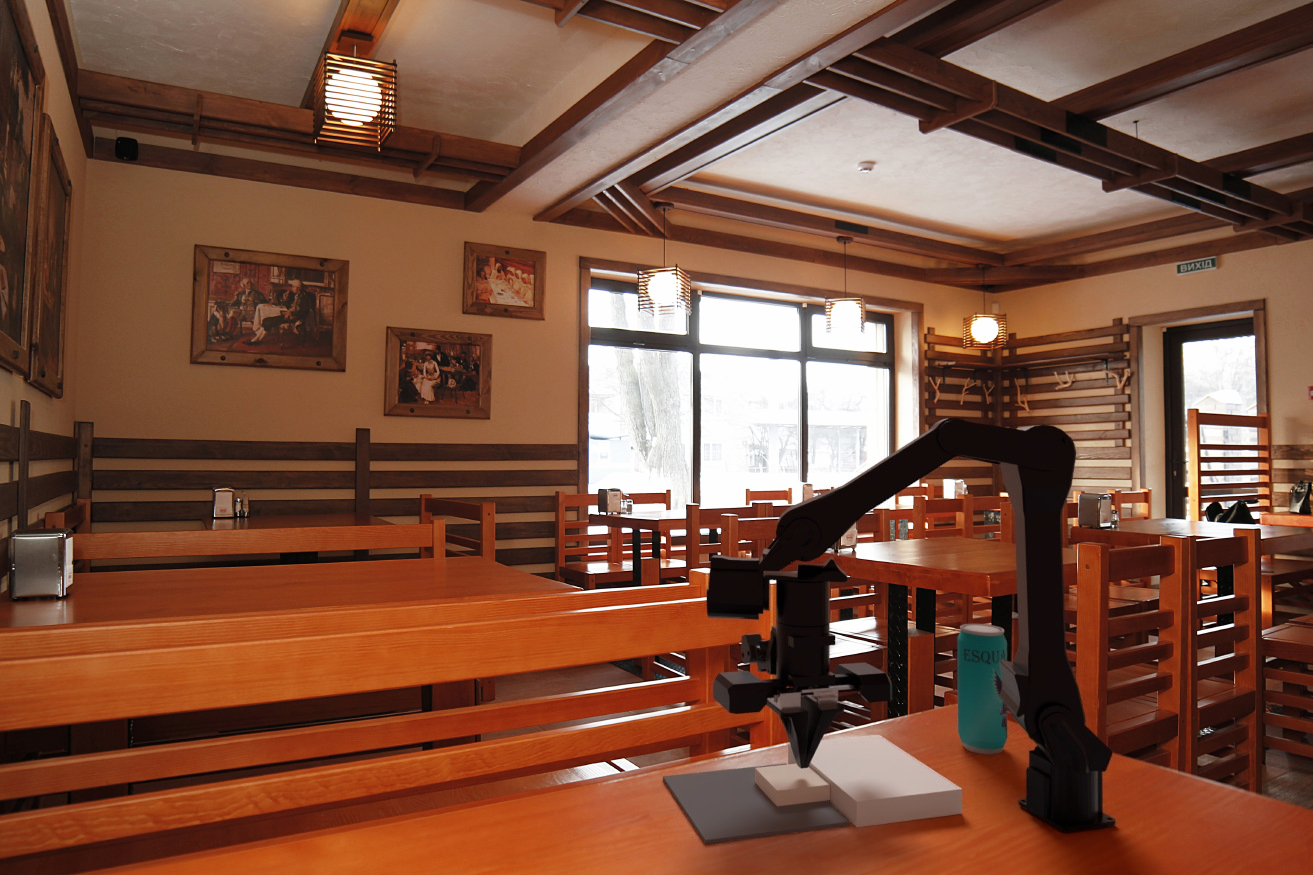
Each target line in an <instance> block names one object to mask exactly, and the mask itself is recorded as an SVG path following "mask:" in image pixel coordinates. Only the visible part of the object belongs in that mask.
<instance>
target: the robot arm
mask: <svg viewBox="0 0 1313 875" xmlns="http://www.w3.org/2000/svg"><path fill="white" fill-rule="evenodd" d="M955 457H960V458H963V459H967V460H973V461H978V462H981V463H987V464H992V465H993V464H994V465H996V466H999V467H1000V472H1001V475H1002V480H1003V485H1004V487H1005V490H1006V493H1007V496H1008V498H1009V501H1010V503H1011V506H1012V510H1013V513H1014V534H1015V558H1016V559H1015V560H1016V561H1015V562H1016V563H1015V565H1016V566H1015V567H1016V592H1017V620H1018V621H1017V622H1018V625H1017V626H1018V628H1017V629H1018V646H1017V649H1016V650H1017V651H1016V653H1015V656H1014V658H1013V661H1009V660H1007V661H1004V660H1000V670H1001V674H1002V681H1003V683H1002V689H1001V692H1000V694H999V696H1000V698H1001V699H1002V700H1003V701H1004V702H1005V703H1006V704H1007V711H1008V712H1009V713H1010V714H1011V716H1012V717H1013V718H1014V720H1015V721H1016V722H1017V723H1018V724H1019V726H1021V727H1022V730H1024V732H1025V733H1026V734H1027V736H1028V738H1029V739H1030V740H1031V741H1033V742H1034V743H1035V744H1036V746H1035V747H1034V749H1032V750H1029V751H1028V766H1027V767H1026V768H1025V776H1026V777H1025V778H1026V779H1025V782H1026V784H1025V785H1026V787H1025V788H1026V789H1025V790H1026V792H1025V793H1026V794H1025V795H1026V797H1025V798H1020V799H1018V800H1017V802H1018V804H1017V805H1019V806H1020V807H1022V808H1023V809H1025V810H1026V811H1028V812H1030V813H1031V814H1032V815H1034V816H1036V817H1038V818H1039V819H1041V820H1042V821H1044V822H1046V823H1047V824H1049V825H1051V827H1054V828H1056V829H1058V830H1059V831H1061V832H1063V833H1065V832H1066V833H1069V832H1076V831H1083V830H1091V829H1098V828H1103V827H1112V826H1116V824H1117V821H1116V818H1114V817H1113V816H1111V815H1109V814H1107V813H1105V812H1104V811H1103V810H1104V806H1103V804H1104V802H1103V801H1104V800H1103V799H1104V798H1103V796H1104V795H1103V794H1104V792H1103V789H1104V788H1103V779H1104V778H1103V773H1105V772H1106V771H1107V770H1108V767H1109V764H1110V762H1111V760H1112V757H1113V751H1112V749H1110V748H1109V747H1108V746H1107V745H1106V743H1104V742H1103V741H1102V740H1101V739H1100V738H1099V736H1097V735H1096V734H1095V733H1094V732H1093V731H1092V730H1091V729H1090V728H1089V727H1087V725H1086V724H1087V720H1086V715H1085V710H1084V705H1083V701H1082V695H1081V692H1080V688H1079V685H1078V682H1077V679H1076V677H1075V674H1074V671H1073V668H1072V667H1071V664H1070V661H1069V657H1068V653H1067V639H1066V613H1065V612H1066V611H1065V610H1066V609H1065V583H1064V582H1065V581H1064V579H1065V578H1064V554H1063V553H1064V550H1063V528H1062V527H1063V526H1062V525H1063V523H1062V522H1063V521H1062V516H1063V509H1064V507H1065V505H1066V502H1067V500H1068V497H1069V494H1070V491H1071V488H1072V485H1073V479H1074V473H1075V472H1074V471H1075V467H1076V466H1075V465H1076V461H1077V460H1076V459H1077V450H1076V444H1075V441H1074V440H1073V438H1072V437H1071V436H1069V434H1067V433H1066V432H1065V431H1064V430H1063V429H1061V428H1059V427H1056V426H1055V425H1049V424H1038V425H1037V424H1036V425H1029V426H1022V427H1017V428H1012V427H1006V426H998V425H992V424H985V423H980V422H973V421H966V420H965V419H964V418H960V417H947V418H945V419H941V420H938V421H937V422H935V423H934V424H933V425H932V426H931V427H930V428H929V429H928V430H927V431H925V432H923V433H922V434H921V435H919V436H918V437H915V439H913V440H912V441H910V442H908V443H906V444H905V445H903V446H902V447H900V448H899V449H898V450H896V451H894V452H893V453H891V454H889V455H888V456H886V457H885V458H883V459H882V460H880V461H878V462H877V463H875V464H874V465H872V466H871V467H869V468H867V469H866V470H864V471H862V473H860V474H858V475H857V476H855V477H854V478H852V479H851V480H849V481H847V482H846V483H845V484H843V485H840V486H837V487H836V488H833V489H830V490H828V491H825V492H822V493H820V494H817V495H815V496H812V497H810V498H808V499H806V500H803V501H801V502H799V503H796V504H794V505H792V506H790V507H787V509H785V510H784V511H783V512H782V513H781V515H780V516H779V517H778V519H777V525H776V530H775V537H774V539H773V540H772V542H771V543H770V544H769V545H768V546H767V548H763V550H762V555H760V558H759V557H733V556H732V557H731V556H727V555H723V554H722V555H720V554H719V555H716V554H713V555H712V556H711V557H710V561H709V565H710V567H709V572H708V573H709V575H708V586H707V588H706V614H707V618H709V619H710V618H711V619H729V620H730V619H731V620H732V619H733V620H753V621H754V620H756V621H758V620H759V621H760V617H761V615H764V611H767V612H768V611H769V612H770V608H771V606H770V605H771V581H775V625H773V626H771V627H770V628H771V630H770V635H769V636H770V638H769V639H768V640H763V638H762V635H761V633H749V634H747V633H746V634H743V635H741V640H740V641H741V644H740V652H741V660H742V662H743V664H744V665H749V664H756V668H757V672H758V673H765V672H766V673H767V674H768V675H769V676H775V678H771V679H760V678H759V677H758V676H756V675H755V674H753V673H751V672H750V671H749V670H743V671H742V670H740V671H727V672H726V671H725V672H719V673H717V675H716V677H714V680H713V682H712V698H713V699H714V700H715V701H716V702H717V703H718V704H719V705H721V707H723V708H724V709H725V710H726V712H728V713H729V714H734V715H739V714H740V715H742V714H752V713H760V712H761V711H762V710H764V708H765V706H767V707H768V708H769V709H771V710H772V711H773V712H774V713H776V714H777V715H778V717H779V719H780V721H781V723H782V725H783V728H784V730H785V733H786V736H787V739H788V743H790V745H791V748H792V751H793V754H794V757H795V760H796V763H797V765H798V767H800V768H801V769H803V768H808V767H809V764H810V762H811V760H812V758H813V756H814V754H815V752H816V750H817V748H818V746H819V744H820V742H821V740H823V738H824V736H825V735H826V733H827V731H828V730H829V727H831V724H832V722H833V721H834V720H835V718H836V716H837V715H838V714H841V713H844V712H845V706H844V705H842V704H841V703H839V693H849V692H850V693H851V692H852V693H853V692H859V695H860V696H861V697H862V698H863V699H864V700H865V701H866V702H867V703H870V704H871V703H881V702H890V701H892V700H893V684H892V681H891V678H890V676H889V675H888V673H887V672H885V671H883V670H881V669H879V668H877V667H875V666H873V665H871V664H868V663H867V662H855V663H854V662H853V663H840V664H839V663H838V664H837V666H836V667H835V669H834V673H833V672H831V671H830V670H831V669H830V664H831V662H830V656H831V654H830V646H836V635H835V634H833V633H831V632H830V630H831V629H830V625H831V624H830V620H831V619H830V617H831V616H830V614H831V613H830V612H831V611H830V606H831V605H830V602H831V601H830V600H831V599H830V597H831V596H830V590H831V589H830V587H831V586H830V584H831V583H847V582H848V580H849V578H848V576H847V573H846V571H845V570H843V569H842V568H841V567H840V566H839V565H838V564H837V562H836V561H835V559H834V557H832V556H831V557H828V559H827V560H826V561H825V562H824V563H822V564H821V563H818V564H817V563H808V562H812V561H814V560H817V559H819V558H820V557H821V556H823V555H824V554H825V553H826V552H828V550H830V548H832V547H833V546H834V545H835V544H836V543H837V542H838V541H839V540H840V539H841V538H842V537H844V536H845V534H847V533H848V531H849V530H850V529H851V528H852V527H853V526H854V525H855V524H856V523H857V522H858V521H859V520H860V519H861V518H862V517H864V516H865V515H866V514H867V513H869V512H870V511H872V510H874V509H875V508H877V507H879V506H880V505H881V504H883V503H885V502H887V501H888V500H890V499H891V498H892V497H894V496H895V495H897V494H899V493H901V492H902V491H903V490H905V489H906V488H908V487H910V486H912V485H913V484H914V483H917V482H918V481H919V480H921V479H923V478H924V477H925V476H927V475H929V474H930V473H932V472H934V471H935V470H937V469H938V468H940V467H941V466H942V465H945V464H946V463H948V462H949V461H951V460H952V459H954V458H955ZM796 561H798V562H805V563H797V565H796V566H797V570H791V571H786V570H785V571H782V570H783V569H785V568H787V567H788V566H789V565H791V564H793V563H794V562H796ZM806 562H807V563H806Z"/></svg>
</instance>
